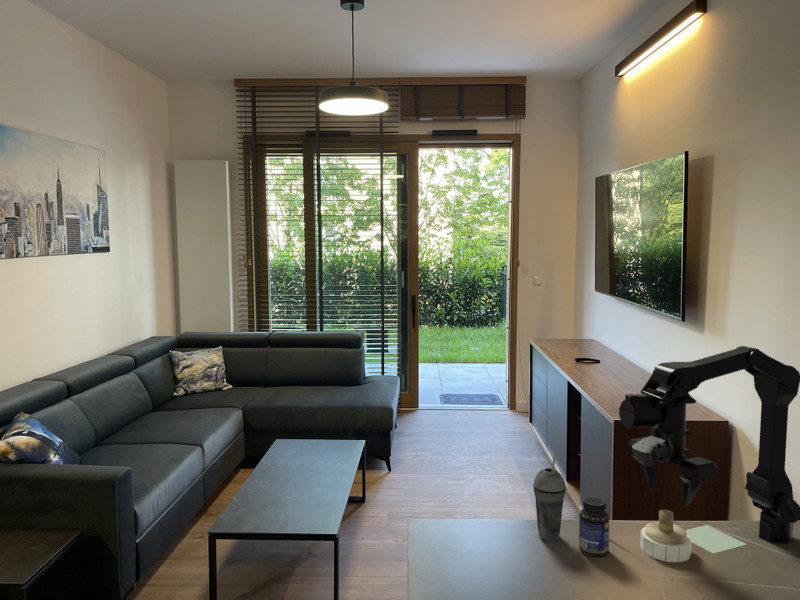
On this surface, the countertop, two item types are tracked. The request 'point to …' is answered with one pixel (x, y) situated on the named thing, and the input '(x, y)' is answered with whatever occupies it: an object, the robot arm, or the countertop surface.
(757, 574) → the countertop surface
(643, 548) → the white faceted ring
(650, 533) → the lid
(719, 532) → the mat
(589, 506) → the pill bottle
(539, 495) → the beverage cup
